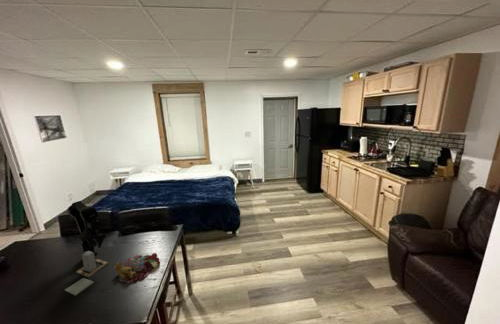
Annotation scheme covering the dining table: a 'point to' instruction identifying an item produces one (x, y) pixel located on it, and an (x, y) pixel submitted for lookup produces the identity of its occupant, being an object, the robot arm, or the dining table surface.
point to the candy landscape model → (136, 267)
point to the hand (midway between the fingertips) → (95, 246)
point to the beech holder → (94, 270)
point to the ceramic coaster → (79, 286)
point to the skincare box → (88, 261)
